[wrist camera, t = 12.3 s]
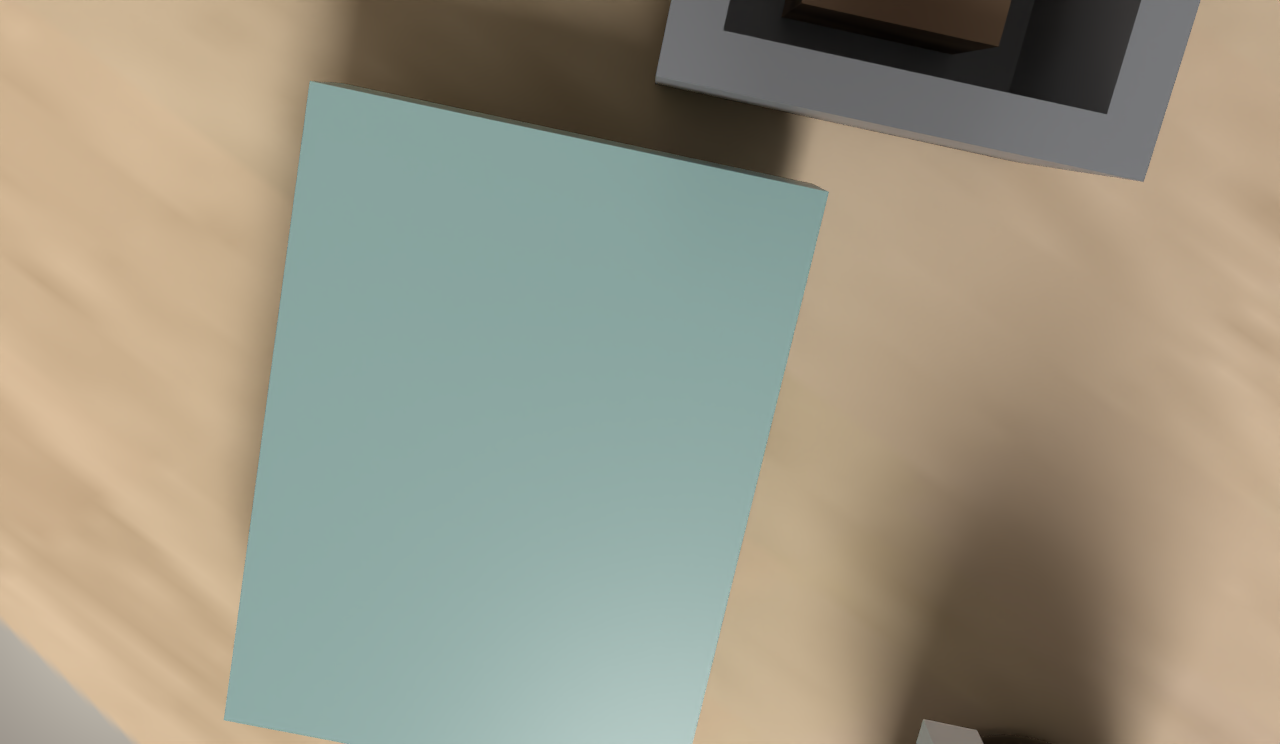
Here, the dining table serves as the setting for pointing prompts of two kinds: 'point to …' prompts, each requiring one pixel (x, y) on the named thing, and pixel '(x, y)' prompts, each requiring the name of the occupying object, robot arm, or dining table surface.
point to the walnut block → (911, 21)
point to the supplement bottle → (1010, 740)
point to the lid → (508, 428)
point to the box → (954, 77)
